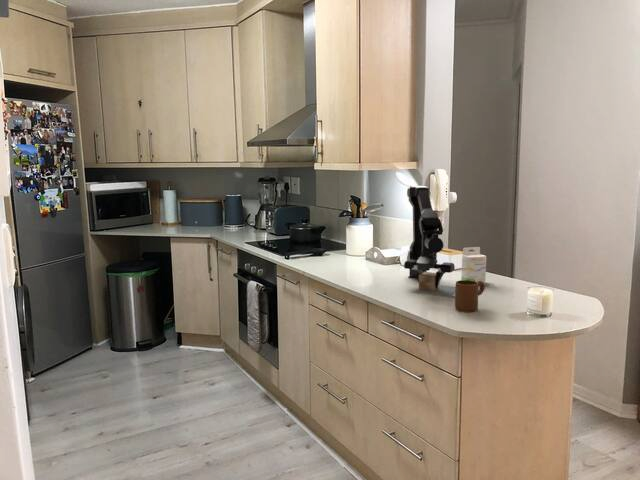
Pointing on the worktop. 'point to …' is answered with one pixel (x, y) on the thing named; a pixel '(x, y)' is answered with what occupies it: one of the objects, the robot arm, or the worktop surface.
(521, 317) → the worktop surface
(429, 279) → the walnut cube
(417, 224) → the robot arm
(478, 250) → the ink box
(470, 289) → the mug
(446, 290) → the mat
